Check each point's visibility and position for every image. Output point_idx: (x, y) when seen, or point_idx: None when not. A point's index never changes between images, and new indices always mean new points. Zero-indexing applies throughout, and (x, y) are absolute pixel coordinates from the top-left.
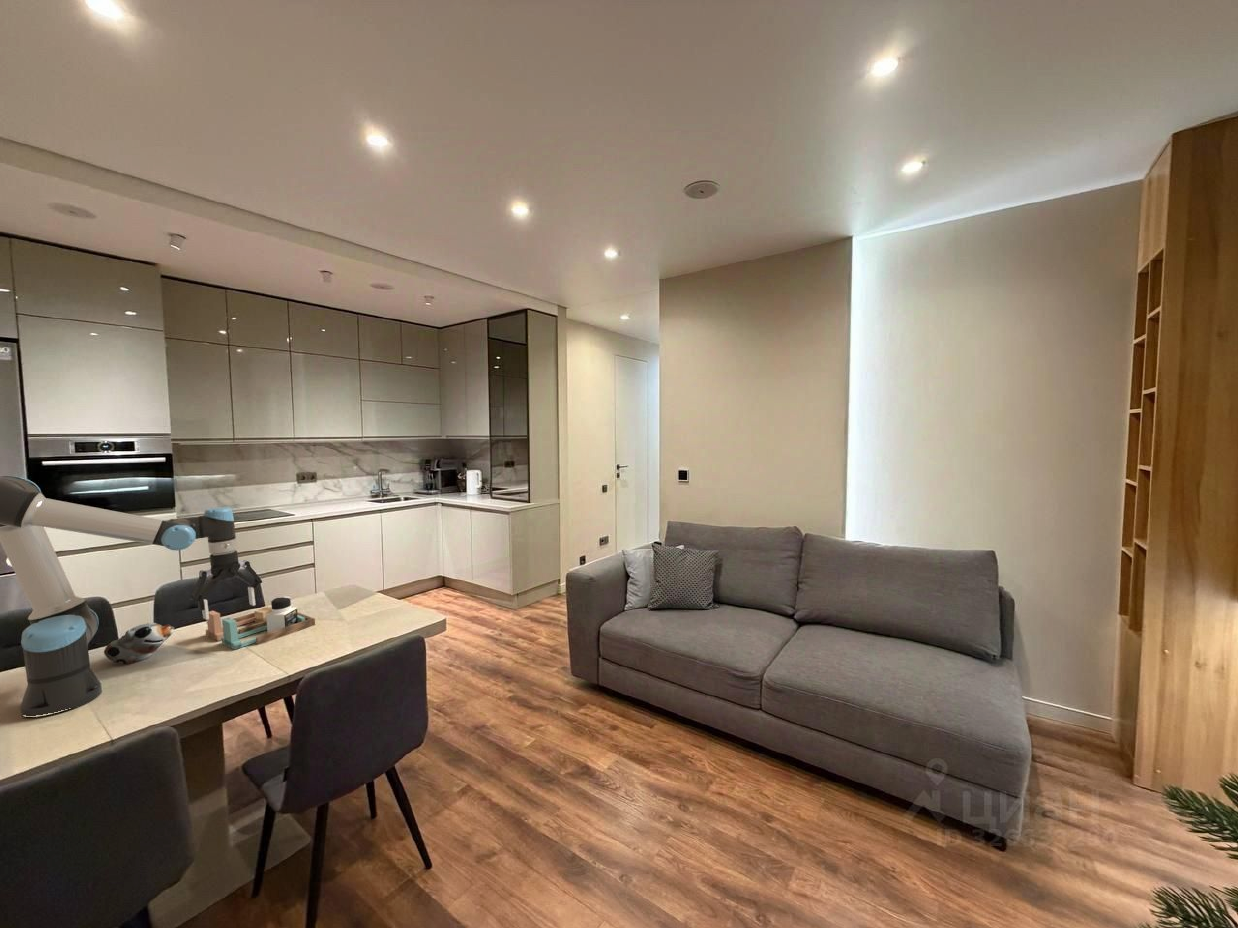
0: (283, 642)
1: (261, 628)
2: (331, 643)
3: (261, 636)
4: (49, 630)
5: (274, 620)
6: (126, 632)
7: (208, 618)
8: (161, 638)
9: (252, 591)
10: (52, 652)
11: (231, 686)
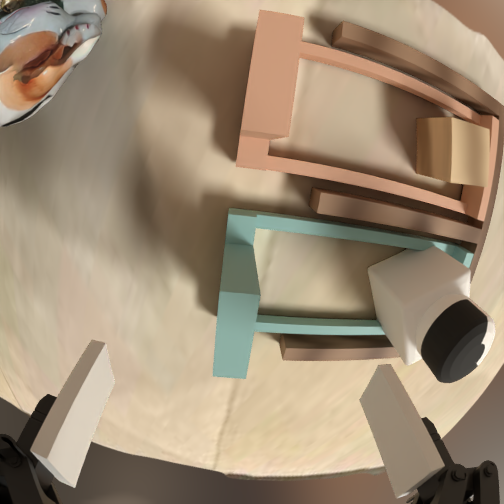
0: (314, 383)
1: (374, 242)
2: (332, 444)
3: (295, 359)
4: None
5: (393, 321)
6: None
7: (110, 382)
8: (35, 104)
9: (392, 475)
10: None
11: (138, 443)
